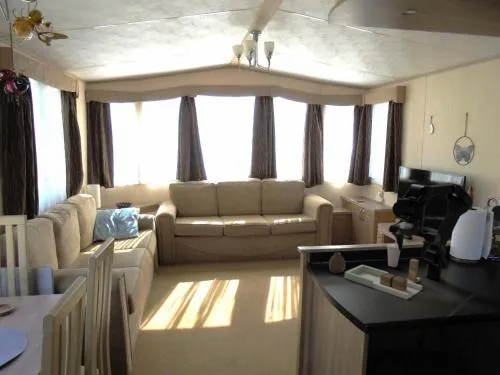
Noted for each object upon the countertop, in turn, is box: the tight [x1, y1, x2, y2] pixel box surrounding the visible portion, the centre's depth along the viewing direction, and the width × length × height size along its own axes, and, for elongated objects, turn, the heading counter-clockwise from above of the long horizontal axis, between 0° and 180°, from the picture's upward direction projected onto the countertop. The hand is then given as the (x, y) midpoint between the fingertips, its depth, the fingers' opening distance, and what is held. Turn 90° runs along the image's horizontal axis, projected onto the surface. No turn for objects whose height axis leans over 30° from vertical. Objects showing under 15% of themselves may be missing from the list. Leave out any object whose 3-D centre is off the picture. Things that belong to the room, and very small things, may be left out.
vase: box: [328, 252, 346, 275], centre depth 160 cm, size 7×7×9 cm
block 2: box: [392, 275, 408, 292], centre depth 142 cm, size 4×4×4 cm
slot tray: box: [344, 264, 423, 300], centre depth 147 cm, size 14×26×4 cm, turn 43°
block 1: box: [380, 273, 396, 287], centre depth 145 cm, size 4×4×4 cm
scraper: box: [406, 258, 421, 284], centre depth 150 cm, size 7×4×10 cm, turn 133°
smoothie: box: [386, 239, 401, 268], centre depth 170 cm, size 6×6×14 cm
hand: (411, 253), depth 148 cm, fingers open, 9 cm apart
